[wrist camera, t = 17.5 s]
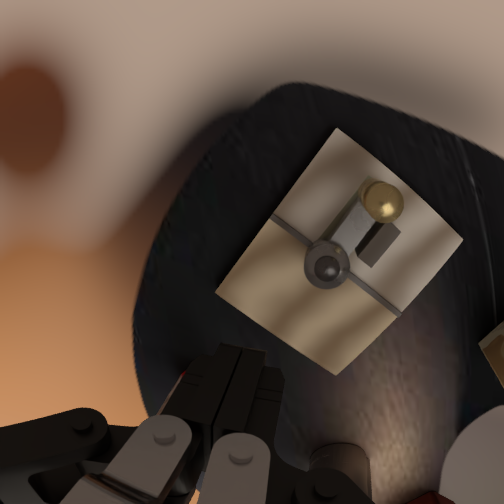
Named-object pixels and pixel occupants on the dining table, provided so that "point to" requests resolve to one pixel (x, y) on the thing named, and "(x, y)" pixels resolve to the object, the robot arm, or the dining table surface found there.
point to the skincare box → (495, 350)
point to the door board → (361, 260)
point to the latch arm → (351, 233)
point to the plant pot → (431, 499)
